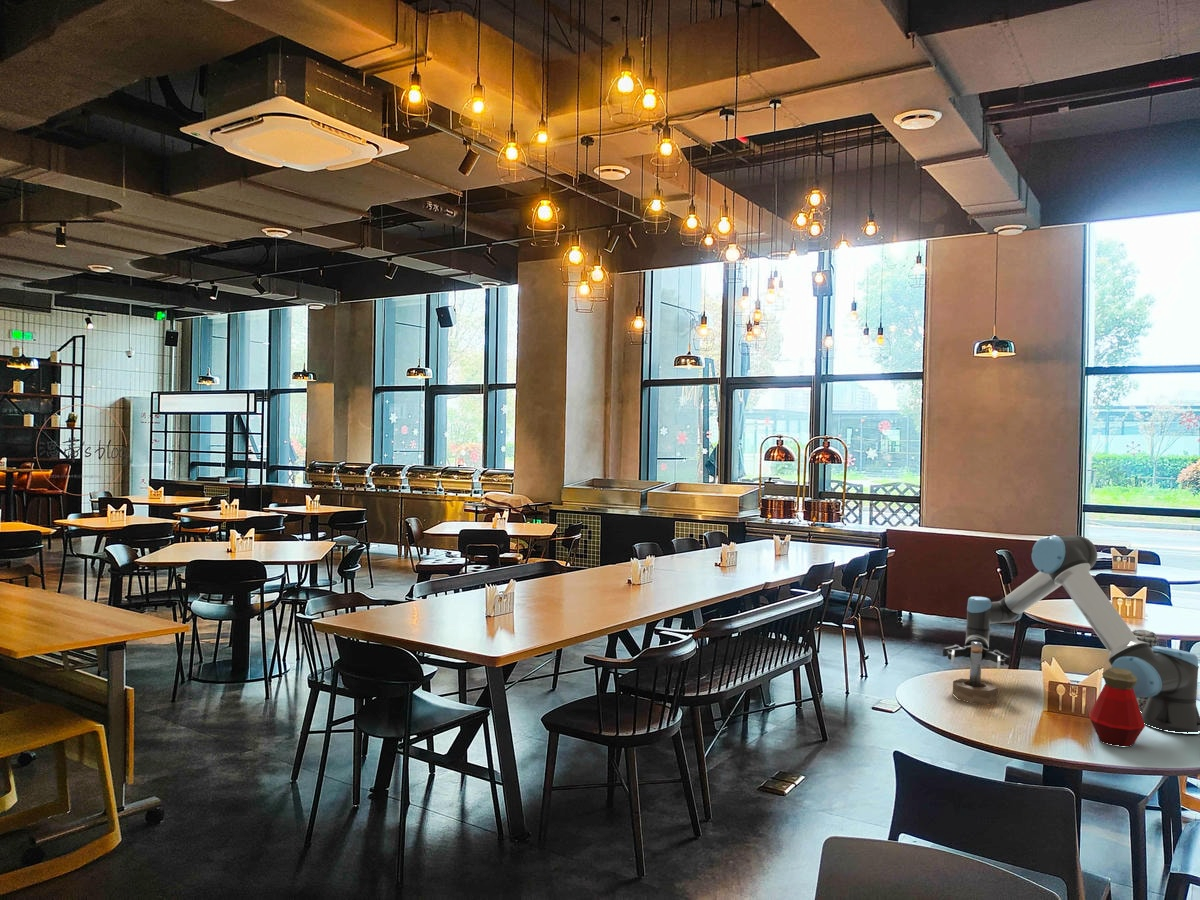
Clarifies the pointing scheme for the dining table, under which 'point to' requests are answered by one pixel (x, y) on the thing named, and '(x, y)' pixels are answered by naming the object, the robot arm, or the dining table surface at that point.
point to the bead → (975, 692)
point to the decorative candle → (1151, 641)
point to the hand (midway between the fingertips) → (975, 661)
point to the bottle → (1117, 709)
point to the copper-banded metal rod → (975, 664)
